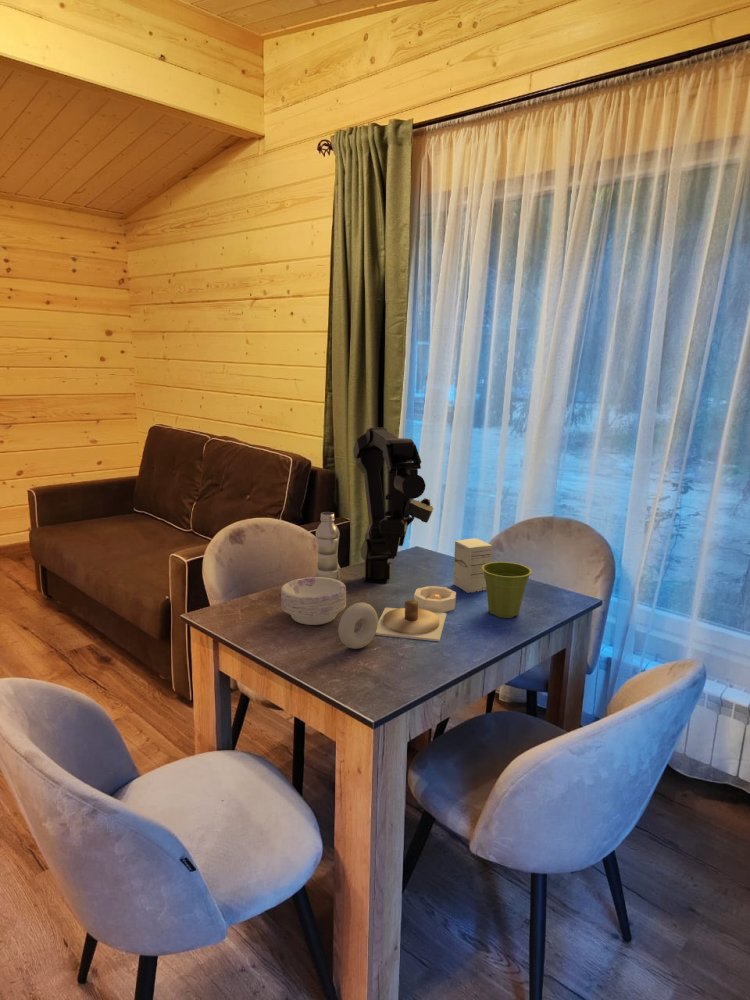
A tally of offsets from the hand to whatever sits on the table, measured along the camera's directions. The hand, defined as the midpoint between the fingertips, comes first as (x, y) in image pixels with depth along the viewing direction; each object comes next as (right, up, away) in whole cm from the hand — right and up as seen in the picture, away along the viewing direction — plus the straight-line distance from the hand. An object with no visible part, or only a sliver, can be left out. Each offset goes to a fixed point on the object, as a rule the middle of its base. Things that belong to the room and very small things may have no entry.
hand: (397, 550), depth 160 cm
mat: (+3, -16, -12) cm, 20 cm away
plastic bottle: (-18, -10, +13) cm, 25 cm away
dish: (+9, -13, 0) cm, 16 cm away
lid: (+3, -16, -12) cm, 20 cm away
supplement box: (+20, -11, +13) cm, 26 cm away
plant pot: (+26, -15, -5) cm, 30 cm away
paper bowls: (-20, -15, -9) cm, 27 cm away
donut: (-9, -19, -24) cm, 32 cm away
